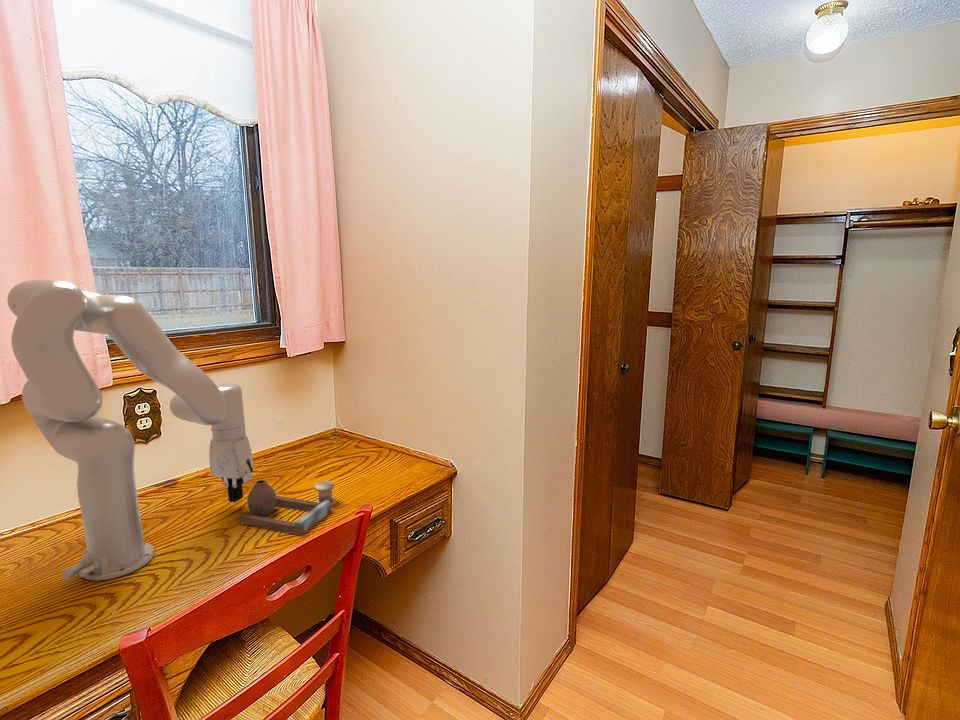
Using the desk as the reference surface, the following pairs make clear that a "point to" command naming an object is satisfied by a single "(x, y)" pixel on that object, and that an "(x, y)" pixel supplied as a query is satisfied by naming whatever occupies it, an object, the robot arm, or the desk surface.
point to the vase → (262, 499)
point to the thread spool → (325, 491)
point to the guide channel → (297, 528)
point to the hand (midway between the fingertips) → (236, 499)
